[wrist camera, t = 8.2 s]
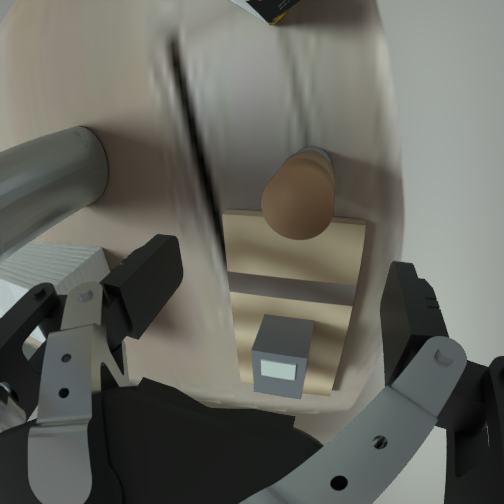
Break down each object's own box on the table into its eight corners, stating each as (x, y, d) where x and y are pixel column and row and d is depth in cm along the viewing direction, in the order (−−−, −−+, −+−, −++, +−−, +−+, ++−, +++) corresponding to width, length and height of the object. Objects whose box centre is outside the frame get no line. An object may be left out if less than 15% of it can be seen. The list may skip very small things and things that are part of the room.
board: (330, 389, 35) (329, 396, 34) (243, 375, 38) (241, 382, 37) (365, 219, 23) (366, 225, 22) (226, 209, 26) (221, 214, 25)
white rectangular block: (23, 281, 47) (-10, 310, 38) (4, 237, 42) (-33, 264, 33) (126, 311, 39) (83, 364, 30) (103, 246, 33) (44, 295, 24)
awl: (306, 194, 23) (287, 251, 15) (281, 158, 22) (246, 195, 14) (344, 172, 21) (347, 219, 14) (318, 134, 20) (306, 156, 13)
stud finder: (307, 363, 31) (300, 400, 27) (265, 357, 33) (253, 392, 28) (313, 320, 28) (306, 359, 24) (264, 314, 29) (250, 351, 25)
